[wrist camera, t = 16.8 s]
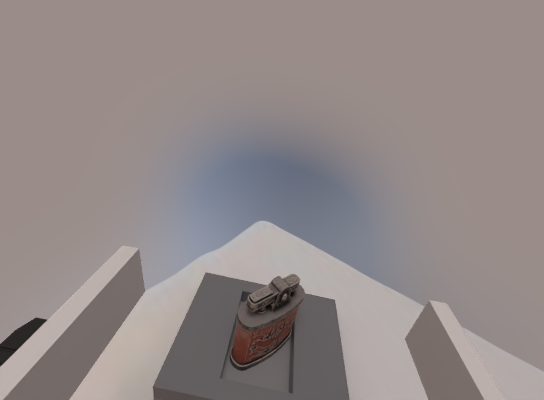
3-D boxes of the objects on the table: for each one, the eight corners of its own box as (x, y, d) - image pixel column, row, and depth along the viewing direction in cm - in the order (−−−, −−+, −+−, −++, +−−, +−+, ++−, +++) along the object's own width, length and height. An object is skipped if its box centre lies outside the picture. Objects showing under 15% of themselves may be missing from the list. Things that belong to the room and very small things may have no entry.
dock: (329, 311, 36) (334, 299, 34) (344, 441, 23) (353, 429, 22) (204, 285, 36) (205, 272, 35) (154, 400, 23) (153, 386, 22)
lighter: (278, 317, 33) (296, 259, 28) (296, 338, 31) (318, 280, 26) (223, 350, 28) (233, 287, 23) (239, 379, 26) (254, 316, 21)
